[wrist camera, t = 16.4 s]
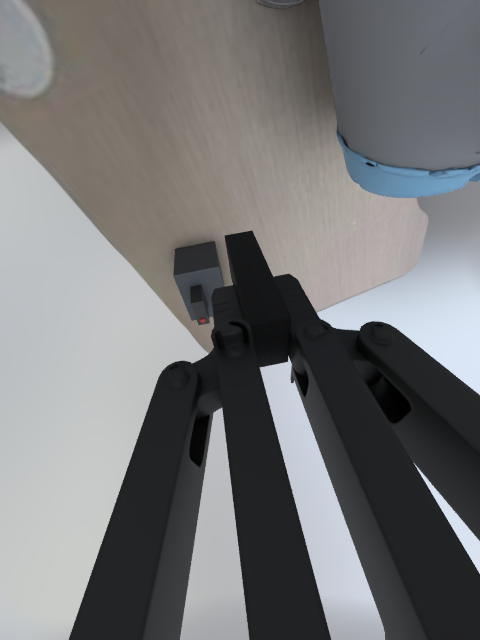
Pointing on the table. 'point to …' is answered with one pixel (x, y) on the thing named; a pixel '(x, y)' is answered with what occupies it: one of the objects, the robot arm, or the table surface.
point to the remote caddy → (198, 278)
